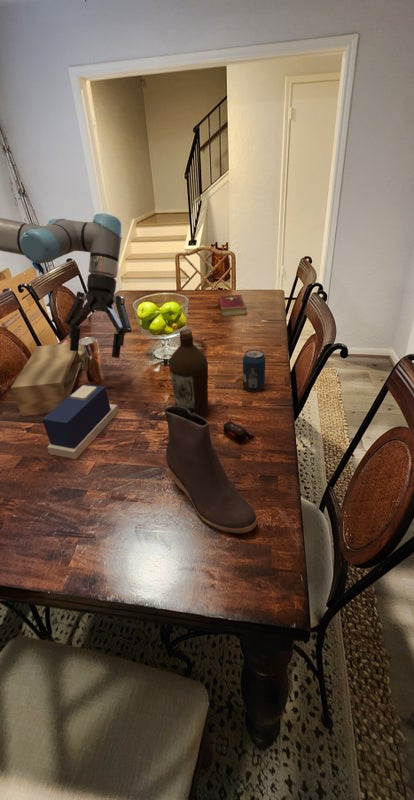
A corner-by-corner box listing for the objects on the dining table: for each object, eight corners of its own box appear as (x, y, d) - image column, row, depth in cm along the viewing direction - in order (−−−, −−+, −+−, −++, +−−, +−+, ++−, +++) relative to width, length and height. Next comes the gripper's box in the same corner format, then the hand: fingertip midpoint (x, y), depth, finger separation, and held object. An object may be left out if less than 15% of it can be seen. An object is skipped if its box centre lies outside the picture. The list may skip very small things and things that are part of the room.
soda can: (258, 380, 123) (258, 347, 117) (268, 389, 118) (269, 355, 111) (239, 384, 121) (239, 351, 115) (248, 394, 116) (249, 360, 109)
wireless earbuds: (242, 446, 94) (242, 436, 93) (222, 435, 99) (222, 425, 97) (254, 438, 97) (254, 428, 95) (234, 427, 101) (234, 417, 100)
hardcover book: (221, 316, 178) (221, 308, 176) (218, 303, 196) (218, 295, 194) (246, 315, 178) (246, 306, 176) (241, 301, 196) (241, 294, 194)
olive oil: (186, 398, 115) (179, 322, 102) (216, 406, 111) (213, 327, 98) (167, 416, 108) (157, 335, 94) (199, 425, 103) (192, 342, 90)
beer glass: (91, 387, 124) (80, 346, 116) (82, 380, 129) (72, 340, 121) (109, 380, 128) (101, 340, 120) (100, 374, 133) (92, 334, 125)
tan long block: (21, 416, 112) (10, 387, 106) (45, 371, 137) (37, 346, 132) (69, 411, 113) (60, 382, 108) (83, 367, 138) (77, 342, 133)
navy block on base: (76, 459, 93) (64, 422, 87) (49, 454, 96) (36, 418, 90) (118, 411, 111) (111, 378, 105) (95, 408, 113) (87, 376, 107)
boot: (237, 550, 69) (236, 469, 58) (157, 486, 84) (145, 413, 73) (266, 522, 74) (270, 444, 63) (186, 467, 89) (178, 395, 78)
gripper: (55, 269, 101) (48, 347, 103) (136, 276, 93) (126, 359, 96) (73, 276, 108) (66, 349, 110) (149, 283, 101) (140, 360, 103)
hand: (94, 354), depth 103 cm, fingers open, 13 cm apart
